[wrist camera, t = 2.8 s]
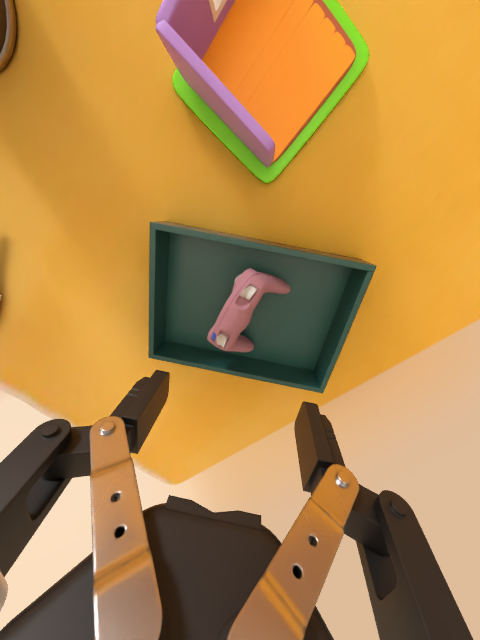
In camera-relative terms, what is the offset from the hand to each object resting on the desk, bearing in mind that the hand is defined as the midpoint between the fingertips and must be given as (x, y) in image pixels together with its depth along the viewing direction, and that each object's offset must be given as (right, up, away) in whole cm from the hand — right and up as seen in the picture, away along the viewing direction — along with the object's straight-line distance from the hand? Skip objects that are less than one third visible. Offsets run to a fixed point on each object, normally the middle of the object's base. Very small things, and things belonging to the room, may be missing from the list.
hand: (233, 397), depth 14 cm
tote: (+2, +6, +14) cm, 15 cm away
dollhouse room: (+3, +25, +6) cm, 26 cm away
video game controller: (+2, +6, +14) cm, 15 cm away
